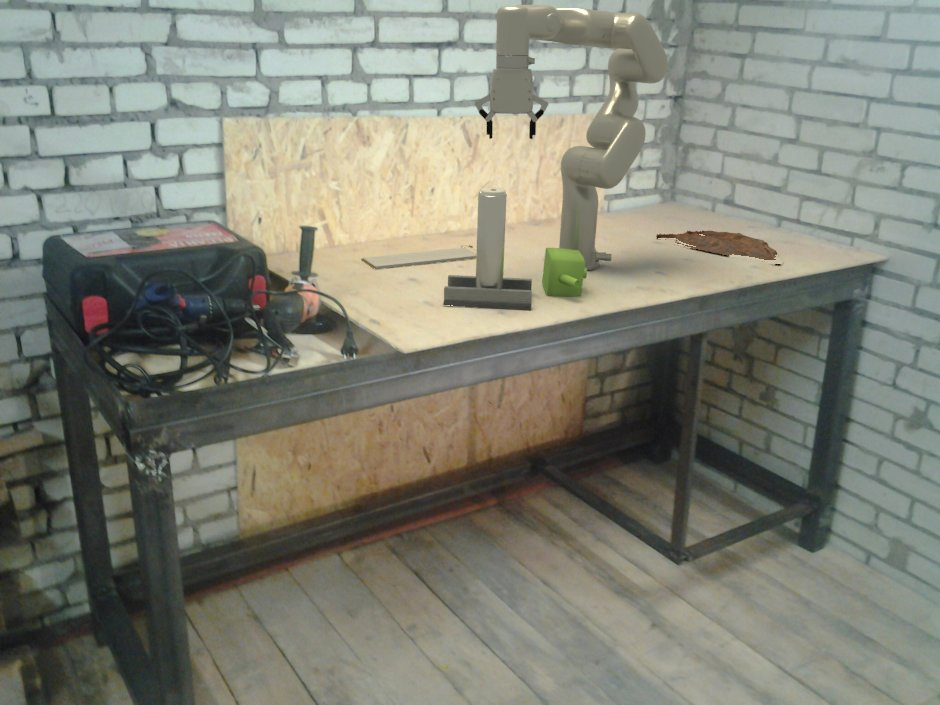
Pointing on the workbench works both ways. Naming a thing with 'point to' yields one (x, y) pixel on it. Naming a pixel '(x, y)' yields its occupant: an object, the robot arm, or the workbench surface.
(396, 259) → the baseboard
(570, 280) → the lime handled box
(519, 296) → the floor track
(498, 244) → the tan metal cylinder
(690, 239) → the brown flat irregular piece
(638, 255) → the workbench surface
